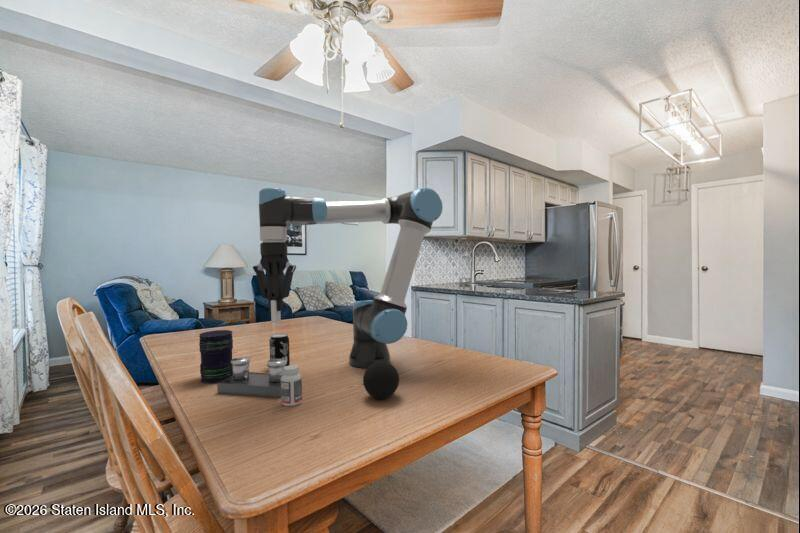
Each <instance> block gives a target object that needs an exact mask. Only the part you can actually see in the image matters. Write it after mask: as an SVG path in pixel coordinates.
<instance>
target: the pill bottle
mask: <svg viewBox="0 0 800 533" xmlns="http://www.w3.org/2000/svg"><path fill="white" fill-rule="evenodd" d="M299 369H300V368H299V365H297V364H291V365H289V366H285V367H284V368H283V372H284V375H283V376H282V377H281V395H282V397H281V405H283V406H285V407H294V406H298V405H300V404H301V403H302V401H303V384H302V383H303V382H302V381H303V380H302V374H300V373H299V372H300V370H299Z"/></svg>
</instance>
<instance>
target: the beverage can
mask: <svg viewBox="0 0 800 533" xmlns="http://www.w3.org/2000/svg"><path fill="white" fill-rule="evenodd" d="M272 359H285V360H286V365H285V366H289V365H290V364H291V363H290V362H291V358H290V338H289V336H288V333H285V332H284V333H283V332H282V333H273V334H271V335H270V338H269V360H272Z"/></svg>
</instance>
